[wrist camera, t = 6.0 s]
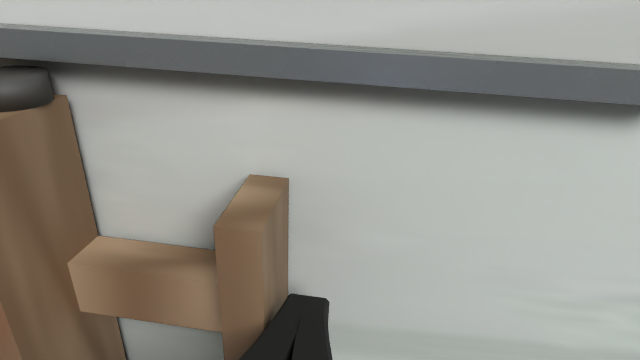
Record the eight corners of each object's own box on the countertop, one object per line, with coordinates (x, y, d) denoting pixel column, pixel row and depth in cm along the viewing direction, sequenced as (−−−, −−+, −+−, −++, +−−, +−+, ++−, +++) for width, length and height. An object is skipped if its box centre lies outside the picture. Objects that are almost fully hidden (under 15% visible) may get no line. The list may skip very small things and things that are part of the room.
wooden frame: (289, 85, 12) (244, 135, 8) (286, 413, 18) (260, 525, 14) (-235, 45, 14) (-458, 70, 10) (-78, 352, 20) (-182, 435, 16)
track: (677, 67, 10) (720, 81, 9) (517, 463, 17) (528, 504, 16) (-357, 0, 14) (-436, 3, 13) (-145, 349, 21) (-182, 375, 20)
